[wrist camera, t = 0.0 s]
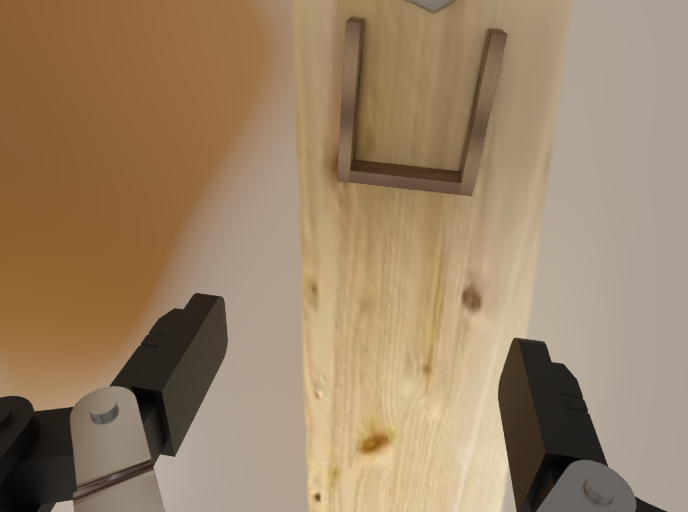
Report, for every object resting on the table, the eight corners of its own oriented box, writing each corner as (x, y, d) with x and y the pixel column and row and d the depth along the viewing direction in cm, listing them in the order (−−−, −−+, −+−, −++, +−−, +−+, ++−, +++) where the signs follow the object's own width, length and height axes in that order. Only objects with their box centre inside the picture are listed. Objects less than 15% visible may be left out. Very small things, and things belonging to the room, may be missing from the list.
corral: (350, 17, 36) (346, 21, 34) (502, 29, 35) (506, 34, 33) (341, 169, 42) (337, 180, 40) (469, 183, 41) (471, 196, 39)
